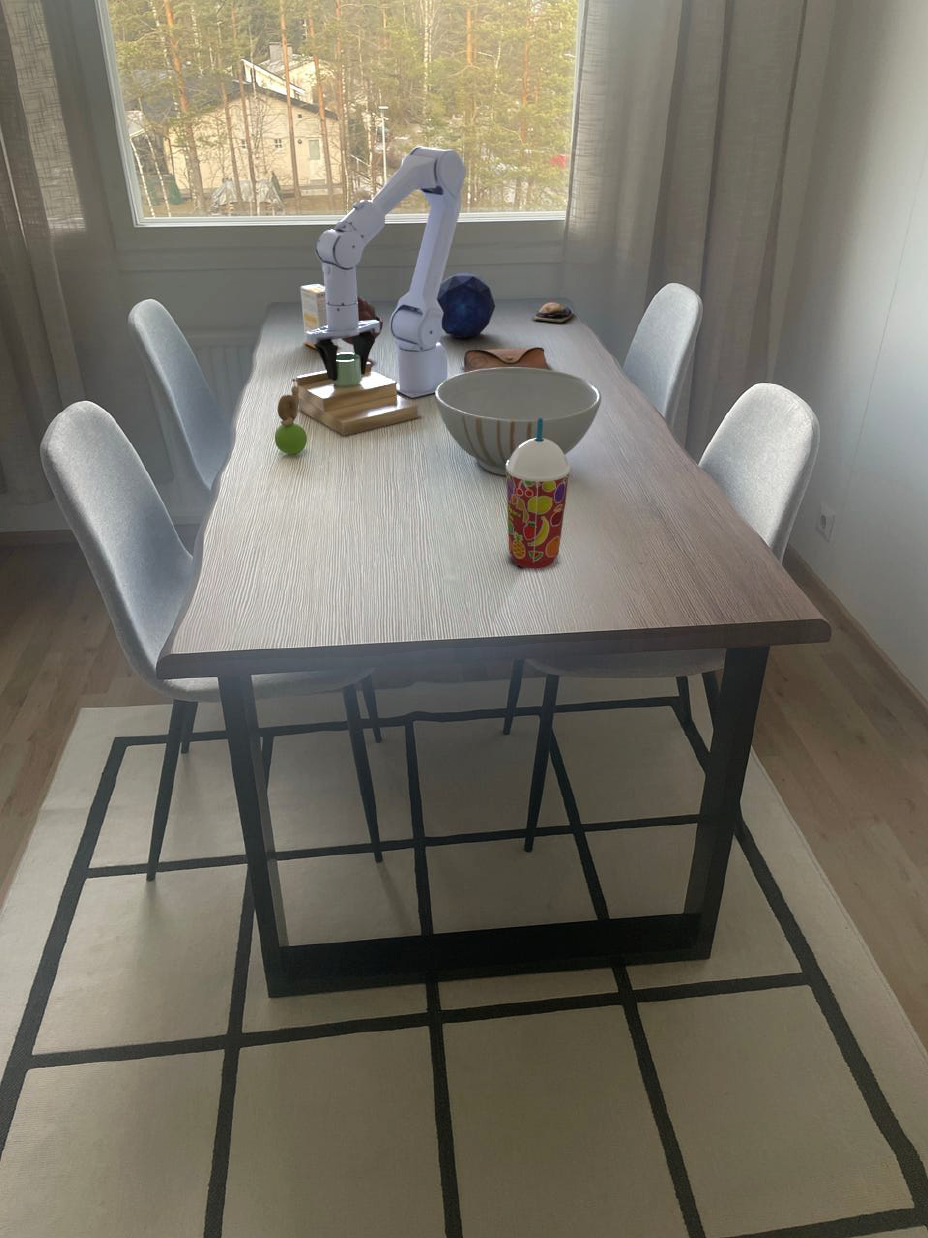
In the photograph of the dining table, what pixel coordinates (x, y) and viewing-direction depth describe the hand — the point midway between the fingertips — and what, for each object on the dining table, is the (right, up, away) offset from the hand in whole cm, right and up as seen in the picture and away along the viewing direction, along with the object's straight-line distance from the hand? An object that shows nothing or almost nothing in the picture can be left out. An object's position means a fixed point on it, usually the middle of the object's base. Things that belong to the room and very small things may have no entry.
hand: (346, 376), depth 174 cm
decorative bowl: (+31, -20, -19) cm, 41 cm away
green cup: (0, -1, +1) cm, 1 cm away
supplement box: (-11, +17, +40) cm, 44 cm away
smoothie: (+32, -38, -48) cm, 69 cm away
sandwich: (+45, +31, +62) cm, 83 cm away
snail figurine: (-7, -17, -15) cm, 24 cm away
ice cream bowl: (0, +10, +28) cm, 30 cm away
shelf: (+2, -7, +1) cm, 7 cm away
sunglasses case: (+32, +7, +24) cm, 41 cm away
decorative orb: (+22, +22, +48) cm, 57 cm away
